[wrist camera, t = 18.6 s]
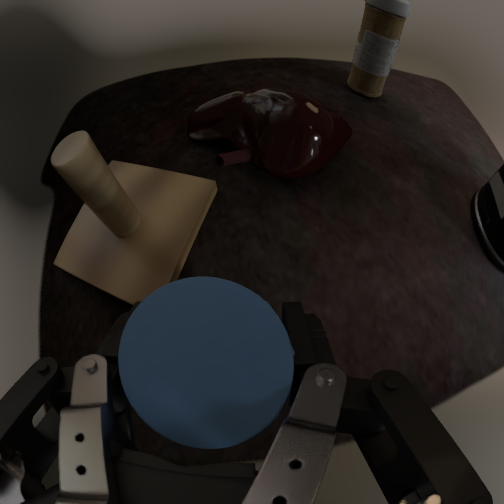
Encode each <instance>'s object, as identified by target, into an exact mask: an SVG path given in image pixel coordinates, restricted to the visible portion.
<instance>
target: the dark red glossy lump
mask: <svg viewBox="0 0 504 504" xmlns="http://www.w3.org/2000/svg"><path fill="white" fill-rule="evenodd" d="M187 131H188V137H189V138H190V139H191V140H194V141H209V140H216V139H221V138H227V139H229V140H230V141H231V142H232V143H233V144H234V146H235V147H236V148H237V149H239V150H238V151H233V152H229V153H224V154H220V155H217V156H216V157H215V164H216V165H217V166H218V167H224V166H228V165H232V164H236V163H242V162H247V161H250V160H251V162H252V163H253V164H254V165H255V166H257V167H258V168H260V169H261V170H263V171H265V172H266V173H268V174H270V175H272V176H274V177H277V178H282V179H296V178H301V177H304V176H307V175H310V174H312V173H314V172H316V171H318V170H319V169H321V168H322V167H323V166H324V165H325V164H326V163H327V162H328V161H329V160H331V159H332V158H333V157H334V156H335V155H336V154H337V153H338V152H339V151H340V149H341V148H342V147H343V146H344V144H345V143H346V142H347V141H348V140H349V139H350V137H351V136H352V128H351V127H350V126H349V124H348V123H347V122H346V121H345V120H343V119H342V118H341V117H340V116H339V115H338V114H336V113H335V112H333V111H332V110H330V109H328V108H327V107H325V106H324V105H323V104H321V103H320V102H319V101H317V100H316V99H314V98H313V97H311V96H309V95H307V94H304V93H302V92H298V91H294V90H287V89H279V88H263V89H260V90H257V91H255V92H252V91H246V90H242V91H235V92H231V93H228V94H225V95H222V96H219V97H217V98H214V99H212V100H210V101H207V102H205V103H204V104H202V105H200V106H199V107H197V108H196V109H195V110H194V111H193V112H192V113H191V114H190V116H189V119H188V124H187Z"/></svg>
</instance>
